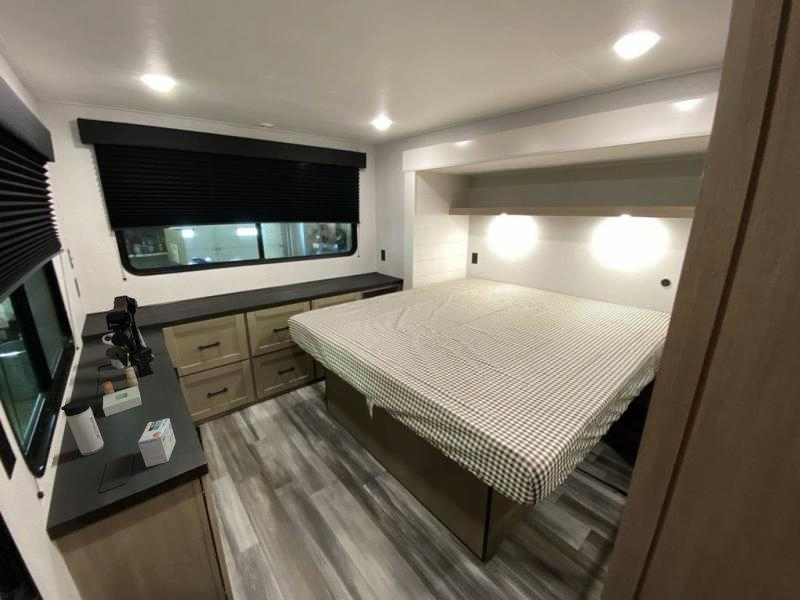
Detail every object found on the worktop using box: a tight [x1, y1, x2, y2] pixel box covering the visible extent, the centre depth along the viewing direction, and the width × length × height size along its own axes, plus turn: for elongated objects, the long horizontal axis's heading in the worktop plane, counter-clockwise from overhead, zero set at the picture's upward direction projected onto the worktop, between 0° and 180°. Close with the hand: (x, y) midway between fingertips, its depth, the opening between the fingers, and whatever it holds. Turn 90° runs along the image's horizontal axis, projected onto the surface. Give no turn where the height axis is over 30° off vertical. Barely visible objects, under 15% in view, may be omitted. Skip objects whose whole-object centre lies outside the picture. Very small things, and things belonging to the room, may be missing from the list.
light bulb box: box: [137, 417, 177, 468], centre depth 113 cm, size 11×7×11 cm, turn 21°
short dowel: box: [101, 381, 115, 395], centre depth 150 cm, size 3×3×6 cm
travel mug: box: [60, 399, 105, 456], centre depth 115 cm, size 6×7×20 cm
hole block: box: [102, 386, 142, 417], centre depth 143 cm, size 12×12×4 cm
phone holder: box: [101, 328, 154, 370], centre depth 180 cm, size 17×10×18 cm, turn 149°
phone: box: [99, 453, 135, 494], centre depth 108 cm, size 7×1×15 cm
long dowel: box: [124, 366, 140, 388], centre depth 155 cm, size 3×3×10 cm
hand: (134, 367), depth 150 cm, fingers open, 9 cm apart
